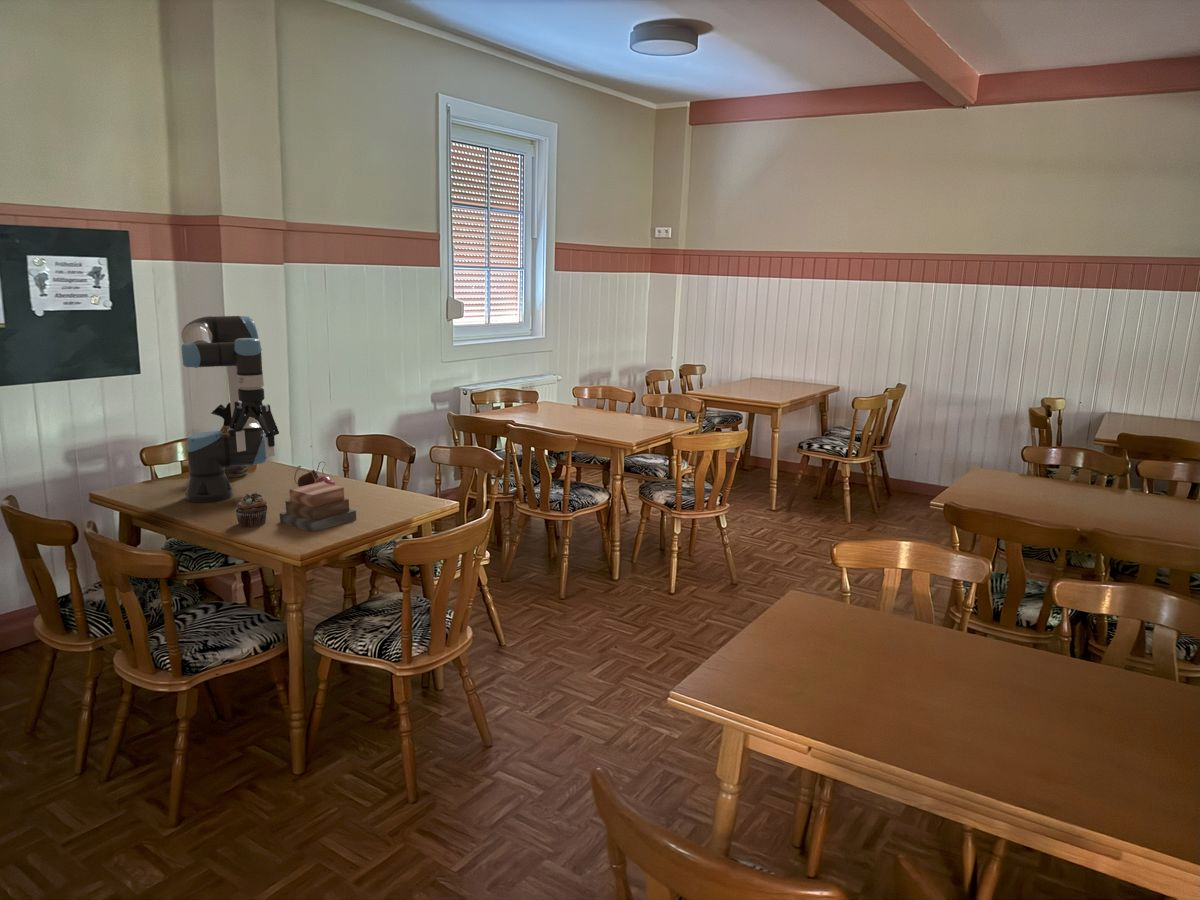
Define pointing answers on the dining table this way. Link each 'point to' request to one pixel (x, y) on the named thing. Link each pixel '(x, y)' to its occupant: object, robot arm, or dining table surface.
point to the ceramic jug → (226, 415)
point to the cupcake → (251, 511)
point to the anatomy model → (313, 477)
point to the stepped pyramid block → (317, 507)
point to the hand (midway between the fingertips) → (255, 453)
